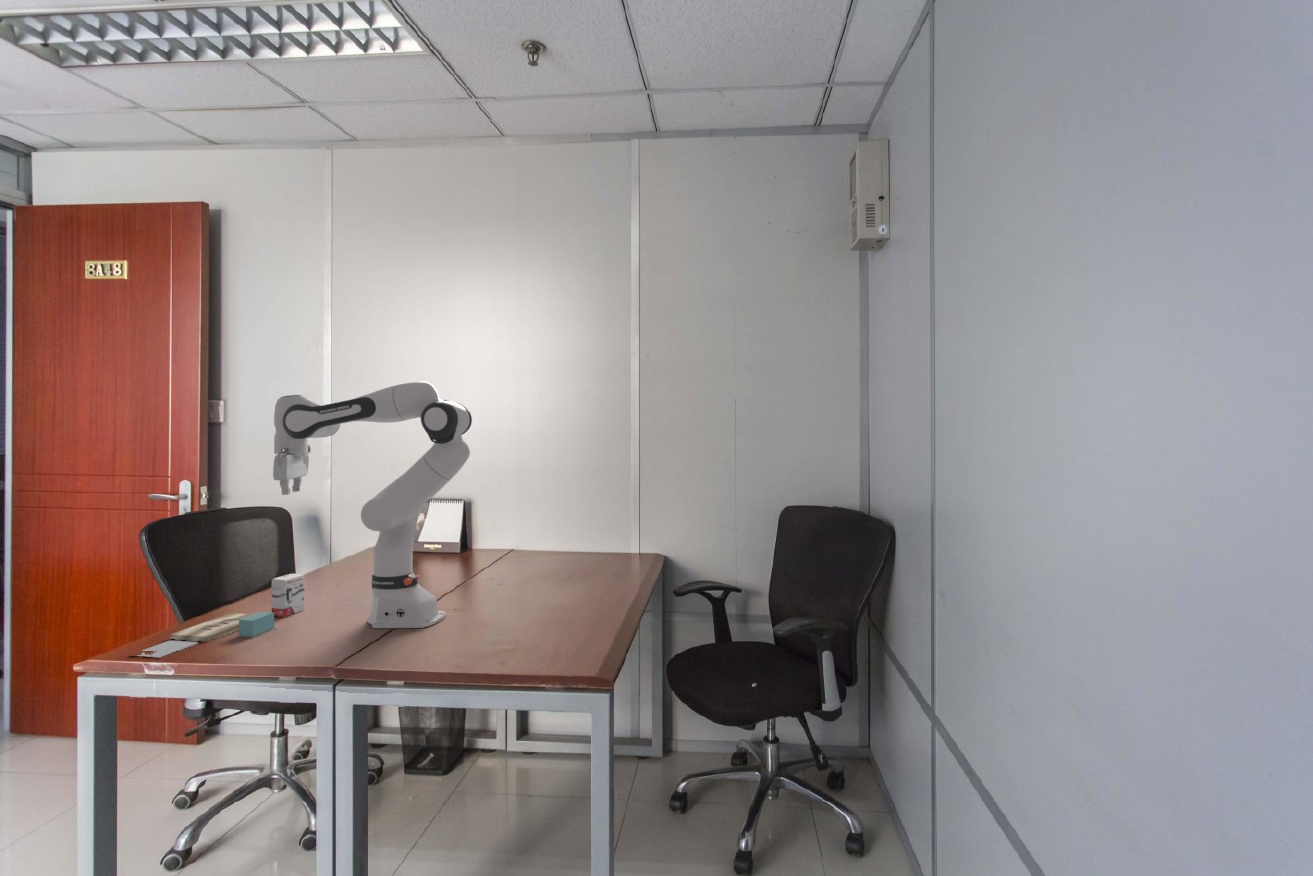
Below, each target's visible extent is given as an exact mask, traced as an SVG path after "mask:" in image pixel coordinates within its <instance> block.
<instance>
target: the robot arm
mask: <svg viewBox="0 0 1313 876" xmlns="http://www.w3.org/2000/svg"><path fill="white" fill-rule="evenodd" d="M439 396H440V395H439V393H438V391H437V389H436V387H435V386H434V385H433V384H432V383H430V382H427V381H415V382H414V381H413V382H406V383H401V384H400V383H399V384H396V385H392V386H389V387H388V386H387V387H385V388H382V389H379V390H376V391H373V392H371V393H367V394H365V395H361V396H358V397H355V398H352V399H351V398H350V399H348V400H343V401H338V402H333V403H328V404H322V405H321V404H318V403H315V402H314V401H312V400H309V399H308V398H307V397H306V396H305V395H302V394H290V395H289V394H288V395H284V396H281V397H280V398H278V399H277V400H276V403H275V406H274V412H273V413H274V414H273V425H274V427H275V434H274V437H273V447H274V448H273V454H275V456H274V459H273V466H272V467H273V469H272V470H273V471H272V473H273V474H272V478H273V480H274V481H279V485H280V488H281V495H283V496H288V495H290V494H291V489H292V493H293V492H294V493H296V492H297V493H298V492H300V491H301V483H302V479H303V478H302V477H306V476H307V475H308V471H309V461H310V460H309V459H310V457H309V455H310V454H311V452H312V451H311V450H312V449H311V447H312V446H310V444H308V443H309V440H308V438H309V439H311V438H313V439H315V438H316V439H317V438H328V437H331V436H333V435H335V434H336V433H337V432H338V431H339V429H340V426H341V424H346V423H352V422H371V423H385V424H386V423H389V424H390V423H400V422H404V421H405V422H406V421H409V420H413V419H417V418H420V423H421V426H422V427H423V429H424V431H425V432H426V433H427V435H428V437H429V439H430V442H432V443H433V444H432V446H431V447H430V448H429V449H428V450H427V451H426V452H425V453H424V454H423V455H422V456H421V457H420V458H419V459H417V461H415V463H413V465H411V467H409V468H408V469H407V470H406V471H405V472H404V473H403V474H402V475H400V476H398V478H396V479H395V480H393V481H392V482H391V483H390V484H388V485H387V486H386V487H384V488H383V489H382V490H381V491H380V492H379V493H378V494H376V495H375V496H374V497H372V498H371V499H369V500H368V501H367V502H366V503H365V504H364V505H363V506H362V507H361V511H360V520H361V522H362V523H363V525H364V527H366V528H367V529H368V530H370V531H373V532H379V534H378V536H377V537H378V539H377V541H376V542H375V545H374V547H373V552H372V553H373V555H372V557H373V558H372V559H373V574H372V575H371V588H372V597H371V604H370V605H371V606H370V610H369V615H368V618H367V623H368V624H370V625H371V627H372V629H412V628H413V629H420V628H421V629H424V628H427V627H431V626H432V625H435V624H437V623H439V622H441V621H443V619H445V618H446V611H443V610H439V607H438V606H439V605H438V601H437V598H436V596H435V595H434V594H432V593H430V591H428V590H427V589H425V588H424V587H423V586H421V585H420V584H419V581H418V579H420V578H421V573H419V574H417V575H416V573H415V572H414V570H413V553H414V551H413V550H414V549H413V548H414V547H413V546H414V541H415V536H416V531H417V525H418V520H419V517H420V516H421V513H422V509H423V505H424V504H426V503H427V502H428V501H429V500H431V499H432V498H434V496H436V495H437V493H439V492H440V490H442V489H443V488H444V487H445V486H446V485H447V484H448V483H449V482H450V481H451V480H452V479H453V478H454V477H455V476H456V475H457V474H458V473H459V471H460V470H461V469H462V468H463V467H464V465H465V464H466V463H467V461H468V459H469V458H470V455H471V451H470V447H469V446H468V444H467V443H466V442H465V440H463V439H464V438H463V435H464V434H465V433H467V432H468V431H469V430H470V428H471V426H472V422H473V416H472V415H471V412H470V410H469V409H468V408H467V407H466V406H465V405H463V404H461V403H458V402H455V401H451V400H449V399H443V400H442V399H440V397H439ZM290 480H292V481H293V483H292V487H291V489H290Z"/></svg>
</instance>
